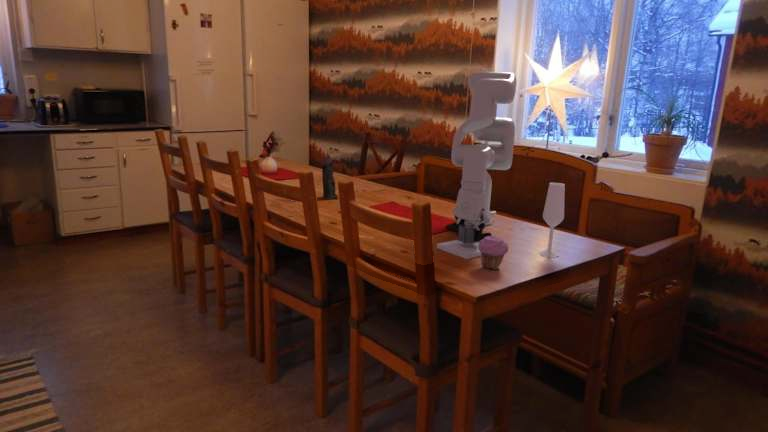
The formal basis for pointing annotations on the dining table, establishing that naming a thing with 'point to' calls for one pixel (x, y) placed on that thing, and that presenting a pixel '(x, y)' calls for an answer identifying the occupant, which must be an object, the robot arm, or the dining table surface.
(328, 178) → the statue
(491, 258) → the cupcake
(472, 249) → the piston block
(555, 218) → the champagne flute
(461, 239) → the steel ring
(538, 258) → the dining table surface
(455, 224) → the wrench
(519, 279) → the dining table surface
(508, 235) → the dining table surface
